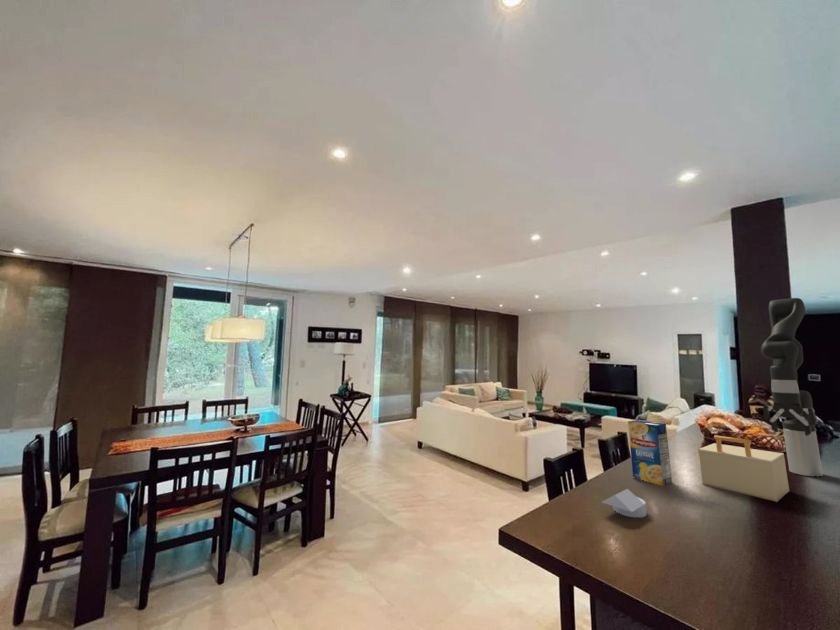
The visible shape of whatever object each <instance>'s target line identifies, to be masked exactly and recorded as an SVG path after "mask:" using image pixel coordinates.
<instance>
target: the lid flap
mask: <svg viewBox="0 0 840 630" xmlns="http://www.w3.org/2000/svg"><path fill="white" fill-rule="evenodd" d="M713 439H714V440H715V442H714V443H710V444H708V445H705V446H703V447H700V448H698V452H699V451H700V452H706V453H712V454H718V455H724V456H730V457H736V458H741V459H747V460H753V461H759V462H765V463H771V464H772V463H773V462H775V461H777V460H778V459H780V458H781V457H783V456H784V457H785V454H784V453H783V452H775V451H768V450H763V449H754V448H751V445H752V440H751V439H745V438H737V437H729V436H723V435H722V436H721V435H715V434H714V436H713ZM722 441H725V442H732V443H739V444H743V445H744V447H743V446H736V445H729V444H722Z"/></svg>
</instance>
